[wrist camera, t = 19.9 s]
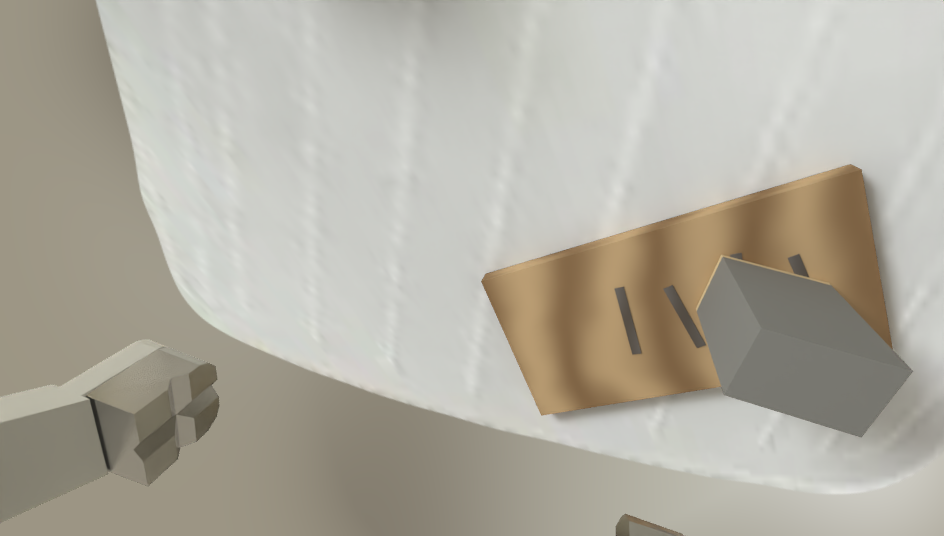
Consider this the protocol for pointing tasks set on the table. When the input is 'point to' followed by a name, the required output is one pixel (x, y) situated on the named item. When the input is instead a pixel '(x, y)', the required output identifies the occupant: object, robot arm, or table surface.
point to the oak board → (675, 290)
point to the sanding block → (796, 347)
